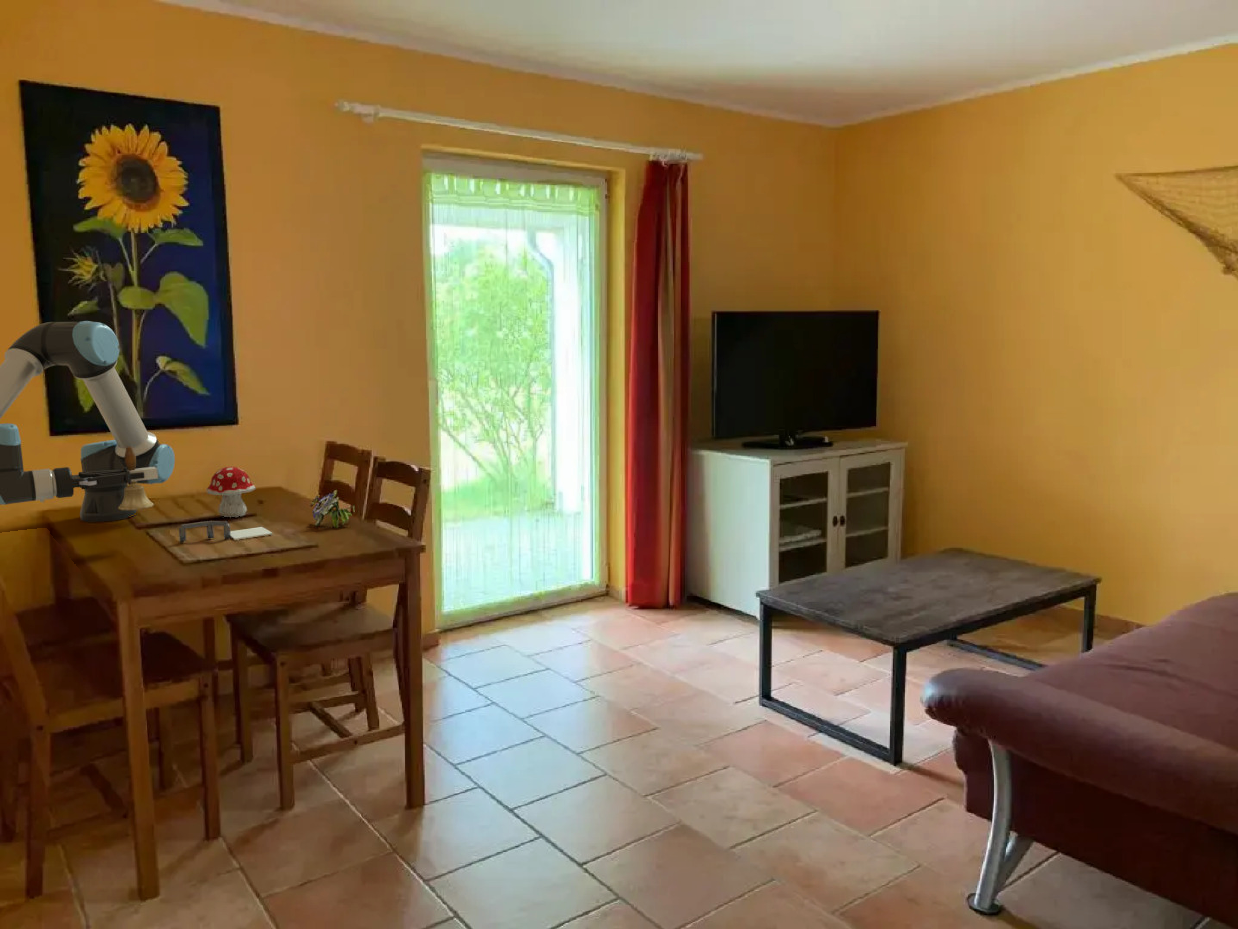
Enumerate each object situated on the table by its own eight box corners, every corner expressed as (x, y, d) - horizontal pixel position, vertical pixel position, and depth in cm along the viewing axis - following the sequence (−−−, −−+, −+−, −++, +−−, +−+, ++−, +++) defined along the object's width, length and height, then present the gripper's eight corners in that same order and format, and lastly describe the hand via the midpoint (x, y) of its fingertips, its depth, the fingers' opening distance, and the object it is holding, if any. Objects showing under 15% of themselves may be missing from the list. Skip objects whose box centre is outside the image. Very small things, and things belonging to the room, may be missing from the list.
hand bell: (139, 510, 246) (133, 449, 244) (111, 510, 248) (104, 448, 246) (160, 504, 254) (154, 444, 252) (133, 503, 256) (127, 444, 254)
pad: (225, 534, 266) (224, 532, 265) (262, 528, 271) (261, 526, 271) (235, 540, 258) (234, 538, 257) (272, 535, 263) (272, 533, 263)
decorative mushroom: (197, 519, 285) (193, 469, 283) (230, 510, 298) (226, 462, 296) (236, 522, 281) (232, 471, 279) (267, 512, 294) (264, 464, 292)
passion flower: (319, 544, 275) (302, 508, 278) (355, 531, 282) (338, 496, 284) (326, 528, 266) (308, 491, 269) (362, 516, 273) (344, 480, 275)
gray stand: (179, 542, 257) (177, 524, 256) (226, 535, 264) (225, 518, 263) (183, 546, 253) (182, 528, 252) (231, 539, 260) (230, 521, 259)
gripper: (51, 493, 246) (151, 482, 260) (59, 502, 234) (163, 490, 248) (48, 465, 245) (149, 455, 258) (55, 472, 233) (160, 462, 247)
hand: (156, 472), depth 253 cm, fingers closed on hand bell, 2 cm apart
